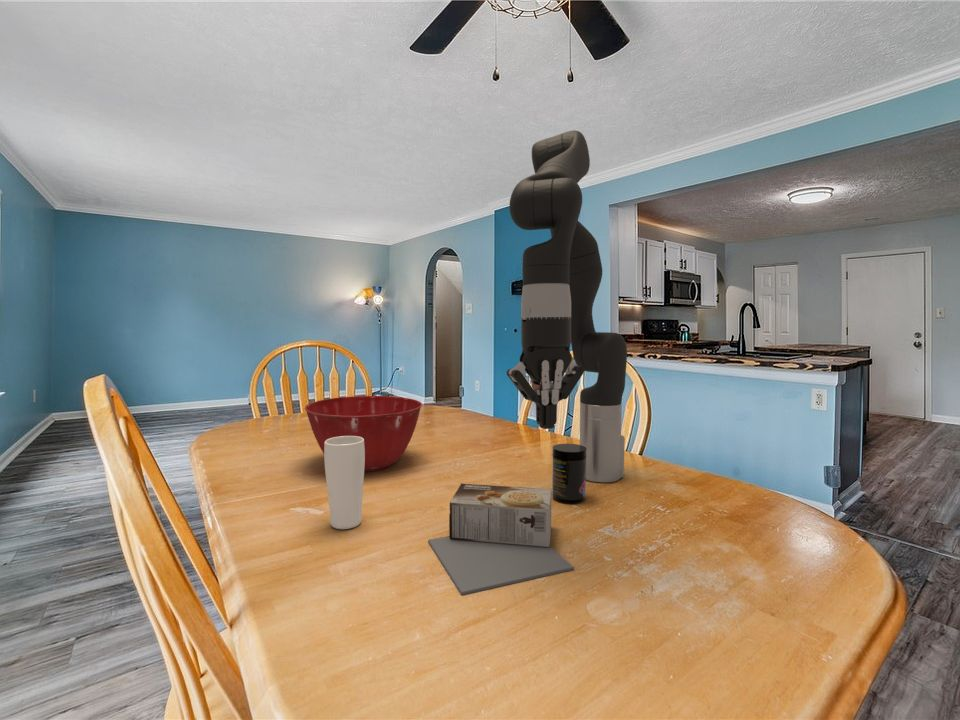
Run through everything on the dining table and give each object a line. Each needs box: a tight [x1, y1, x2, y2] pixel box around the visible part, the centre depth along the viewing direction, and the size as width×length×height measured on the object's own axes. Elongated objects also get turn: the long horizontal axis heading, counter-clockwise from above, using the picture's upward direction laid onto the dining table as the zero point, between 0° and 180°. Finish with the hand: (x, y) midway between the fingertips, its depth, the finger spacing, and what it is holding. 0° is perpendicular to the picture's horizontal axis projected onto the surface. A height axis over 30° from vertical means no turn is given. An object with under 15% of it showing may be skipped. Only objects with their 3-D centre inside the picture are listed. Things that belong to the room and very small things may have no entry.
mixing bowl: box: [304, 395, 423, 473], centre depth 117 cm, size 28×28×16 cm
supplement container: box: [551, 443, 587, 505], centre depth 93 cm, size 7×7×10 cm
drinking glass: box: [323, 436, 365, 530], centre depth 81 cm, size 7×7×15 cm
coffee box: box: [448, 483, 553, 547], centre depth 77 cm, size 9×6×16 cm
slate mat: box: [427, 535, 575, 596], centre depth 70 cm, size 17×16×1 cm
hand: (546, 427), depth 72 cm, fingers closed
